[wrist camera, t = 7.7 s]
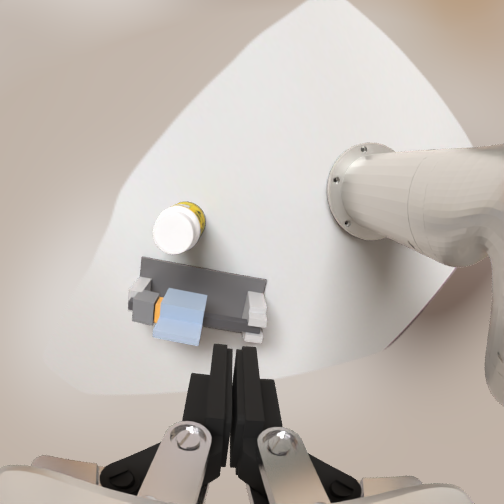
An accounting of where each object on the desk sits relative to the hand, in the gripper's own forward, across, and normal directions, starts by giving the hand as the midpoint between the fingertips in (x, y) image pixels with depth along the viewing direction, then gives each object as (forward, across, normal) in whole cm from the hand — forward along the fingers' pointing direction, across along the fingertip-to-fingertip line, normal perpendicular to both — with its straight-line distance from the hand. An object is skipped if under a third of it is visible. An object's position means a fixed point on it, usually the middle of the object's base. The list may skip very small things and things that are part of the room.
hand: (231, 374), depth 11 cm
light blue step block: (+22, +5, +8) cm, 23 cm away
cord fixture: (+25, +4, +8) cm, 27 cm away
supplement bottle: (+25, +6, -2) cm, 26 cm away
